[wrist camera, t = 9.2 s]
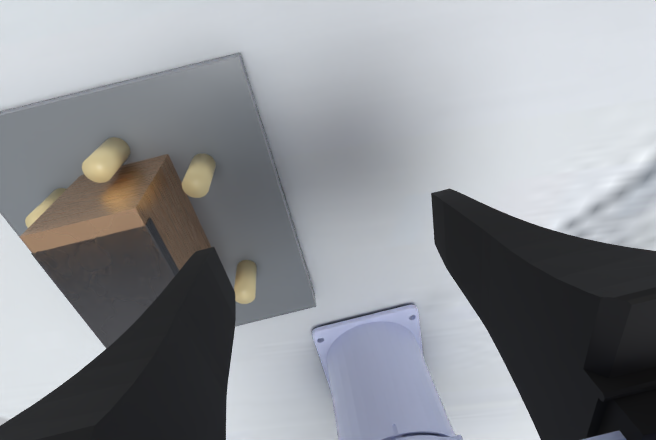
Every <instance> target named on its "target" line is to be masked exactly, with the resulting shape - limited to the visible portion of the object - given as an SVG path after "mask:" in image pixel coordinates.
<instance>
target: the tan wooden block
mask: <svg viewBox="0 0 656 440" xmlns="http://www.w3.org/2000/svg"><path fill="white" fill-rule="evenodd" d="M20 238H21V239H22V241H23V242H24V243H25V244H26V246H27V247H28V248H29V249H30V251H31V252H32V253H31V254H32V255H33V256H34V258H35V259H36V260H37V261H38V263H39V264H40V265H41V266H42V268H43V269H44V270H45V272H46V273H47V274H48V275H49V277H50V278H51V279H52V280H53V282H54V283H55V284H56V285H57V287H58V288H59V289H60V290H61V292H62V293H63V294H64V295H65V297H66V298H67V299H68V301H69V302H70V303H71V304H72V306H73V307H74V308H75V309H76V311H77V312H78V313H79V314H80V316H81V317H82V318H83V319H84V321H85V322H86V323H87V325H88V326H89V327H90V328H91V330H92V331H93V332H94V333H95V335H96V336H97V337H98V338H99V340H100V341H101V342H102V343H103V345H104V346H105V347H106V348H108V347H109V346H110V345H111V344H113V343H114V342H115V341H116V340H117V339H118V338H119V337H120V336H121V335H122V334H123V333H124V332H125V331H126V330H127V329H128V328H129V327H130V326H131V325H132V324H133V323H134V322H135V321H136V320H137V319H138V318H139V317H140V316H141V315H142V314H143V313H144V312H145V311H146V309H147V308H148V307H149V306H150V305H151V304H152V303H153V302H154V301H155V299H156V298H157V297H158V296H159V295H160V294H161V293H162V291H163V290H164V289H165V288H166V287H167V285H168V284H169V283H170V282H171V280H172V279H173V278H174V277H175V276H176V274H177V273H178V272H179V271H180V269H181V268H182V267H183V266H184V264H185V263H186V262H187V261H188V259H189V258H190V257H191V256H192V255H193V254H194V253H195V252H196V251H199V250H203V249H207V248H211V245H210V243H209V241H208V239H207V237H206V234H205V232H204V230H203V228H202V226H201V224H200V222H199V219H198V217H197V215H196V213H195V211H194V209H193V206H192V204H191V202H190V200H189V198H188V196H187V194H186V193H185V192H184V191H183V189H182V183H181V181H180V178H179V176H178V174H177V172H176V170H175V168H174V166H173V163H172V161H171V159H170V157H169V155H168V154H166V155H162V156H158V157H154V158H149V159H145V160H141V161H137V162H133V163H129V164H125V165H121V167H120V168H119V169H118V170H117V172H116V173H115V174H114V175H113V176H112V178H111V179H110V180H109V181H107V182H104V183H97V182H94V181H92V180H90V179H88V178H87V177H86V176H85V174H84V175H80V176H79V177H78V178H77V179H76V180H75V181H74V182H73V183H72V184H71V185H70V186H69V187H68V188H67V189H66V190H65V191H64V192H63V193H62V195H61V196H60V197H59V198H58V199H57V200H56V201H55V202H54V203H53V204H52V205H51V206H50V207H49V208H48V209H47V210H46V211H45V212H44V213H43V214H42V215H41V216H40V217H39V218H38V219H37V220H36V221H35V222H34V223H33V224H32V225H31V226H30V227H29V228H28V229H27V230H26V231H25V232H24V233H23V234H22V235H21V236H20Z"/></svg>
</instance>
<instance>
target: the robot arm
mask: <svg viewBox="0 0 656 440" xmlns="http://www.w3.org/2000/svg"><path fill="white" fill-rule="evenodd" d="M431 195H432V210H433V225H434V240H435V245H436V247H437V250H438V252H439V254H440V256H441V258H442V260H443V262H444V264H445V266H446V268H447V270H448V271H449V273H450V274H451V276H452V277H453V279H454V280H455V282H456V283H457V285H458V286H459V288H460V289H461V291H462V292H463V294H464V295H465V297H466V298H467V300H468V301H469V303H470V304H471V306H472V307H473V309H474V310H475V312H476V313H477V315H478V316H479V317H480V319H481V321H482V322H483V324H484V325H485V327H486V329H487V330H488V332H489V334H490V336H491V338H492V340H493V342H494V343H495V345H496V347H497V349H498V351H499V353H500V355H501V357H502V359H503V361H504V363H505V365H506V367H507V369H508V371H509V373H510V375H511V377H512V379H513V381H514V383H515V385H516V387H517V389H518V391H519V393H520V395H521V397H522V399H523V401H524V404H525V406H526V408H527V410H528V412H529V414H530V416H531V418H532V421H533V423H534V425H535V427H536V429H537V432H538V434H539V436H540V438H541V440H656V251H651V250H644V249H637V248H630V247H624V246H618V245H612V244H607V243H602V242H597V241H593V240H588V239H583V238H579V237H575V236H571V235H567V234H564V233H560V232H557V231H553V230H550V229H547V228H543V227H540V226H537V225H534V224H531V223H529V222H526V221H523V220H521V219H518V218H515V217H513V216H510V215H508V214H505V213H503V212H501V211H498V210H496V209H494V208H491V207H489V206H487V205H485V204H483V203H480V202H478V201H476V200H474V199H472V198H470V197H468V196H465V195H463V194H461V193H459V192H457V191H454V190H452V189H447V190H443V191H439V192H435V193H431ZM411 315H413V316H411ZM235 321H236V302H235V291H234V289H233V287H232V285H231V282H230V280H229V278H228V276H227V274H226V271H225V269H224V267H223V265H222V263H221V261H220V258H219V256H218V254H217V252H216V250H215V248H214V247H211V248H207V249H203V250H199V251H196V252H195V253H194V254H193V255H192V256H191V257H190V258H189V259H188V261H187V262H186V263H185V264H184V266H183V267H182V268H181V269H180V271H179V272H178V273H177V274H176V276H175V277H174V278H173V279H172V280H171V282H170V283H169V284H168V285H167V287H166V288H165V289H164V290H163V291H162V293H161V294H160V295H159V296H158V297H157V298H156V299H155V301H154V302H153V303H152V304H151V305H150V306H149V307H148V308H147V309H146V311H145V312H144V313H143V314H142V315H141V316H140V317H139V318H138V319H137V320H136V321H135V322H134V323H133V324H132V325H131V326H130V327H129V328H128V329H127V330H126V331H125V332H124V333H123V334H122V335H121V336H120V337H119V338H118V339H117V340H116V341H115V342H114V343H113V344H111V345H110V346H109V347H108V348H107V349H106V350H105V351H103V352H102V353H101V354H100V355H99V356H97V357H96V358H95V359H94V360H93V361H91V362H90V363H89V364H88V365H86V366H85V367H84V368H83V369H82V370H80V371H79V372H78V373H77V374H75V375H74V376H73V377H71V378H70V379H69V380H67V381H66V382H65V383H63V384H62V385H61V386H59V387H58V388H57V389H55V390H54V391H52V392H51V393H49V394H48V395H47V396H45V397H44V398H42V399H41V400H39V401H38V402H37V403H35V404H34V405H32V406H31V407H29V408H28V409H26V410H24V411H23V412H21V413H20V414H18V415H17V416H15V417H13V418H12V419H10V420H9V421H7V422H6V423H4V424H3V425H1V426H0V440H226V395H227V384H228V376H229V368H230V361H231V353H232V346H233V338H234V330H235ZM312 337H313V340H314V343H315V346H316V349H317V352H318V355H319V358H320V360H321V363H322V366H323V369H324V372H325V375H326V378H327V381H328V384H329V387H330V390H331V393H332V399H333V406H334V413H335V419H336V426H337V433H338V439H339V440H463V439H462V436H461V435H456V436H455V433H454V431H453V428H452V426H451V424H450V421H449V419H448V416H447V414H446V411H445V409H444V407H443V404H442V402H441V399H440V397H439V394H438V392H437V389H436V387H435V385H434V382H433V380H432V377H431V375H430V372H429V370H428V368H427V365H426V363H425V360H424V358H423V349H422V340H421V331H420V322H419V313H418V309H417V307H416V306H415V305H407V306H403V307H399V308H395V309H391V310H386V311H382V312H378V313H374V314H370V315H366V316H362V317H358V318H354V319H350V320H346V321H342V322H338V323H334V324H330V325H325V326H321V327H317V328H315V329H314V330H313V331H312Z"/></svg>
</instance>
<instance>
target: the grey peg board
mask: <svg viewBox="0 0 656 440" xmlns="http://www.w3.org/2000/svg"><path fill="white" fill-rule="evenodd" d="M166 154H168V155H169V157H170V159H171V161H172V163H173V166H174V168H175V170H176V172H177V174H178V176H179V178H180V181H181V183H182V189H183V191H184V192H185V193H186V194H187V196H188V198H189V200H190V202H191V204H192V206H193V209H194V211H195V213H196V215H197V217H198V219H199V222H200V224H201V226H202V228H203V230H204V232H205V234H206V237H207V239H208V241H209V243H210V245H211V247H214V248H215V250H216V252H217V254H218V256H219V258H220V261H221V263H222V265H223V267H224V269H225V271H226V274H227V276H228V278H229V280H230V282H231V285H232V287H233V289H234V291H235V302H236V321H235V326H239V325H243V324H247V323H251V322H255V321H259V320H263V319H267V318H271V317H275V316H279V315H284V314H288V313H292V312H296V311H300V310H304V309H308V308H312V307H316V301H315V294H314V291H313V288H312V285H311V281H310V278H309V275H308V272H307V268H306V265H305V262H304V259H303V255H302V252H301V249H300V246H299V242H298V239H297V236H296V233H295V229H294V226H293V223H292V220H291V216H290V213H289V210H288V207H287V203H286V200H285V197H284V194H283V190H282V187H281V184H280V181H279V177H278V174H277V171H276V167H275V164H274V161H273V158H272V154H271V151H270V148H269V145H268V141H267V138H266V135H265V132H264V128H263V125H262V122H261V119H260V115H259V112H258V109H257V106H256V102H255V99H254V96H253V93H252V89H251V86H250V83H249V80H248V76H247V73H246V70H245V67H244V63H243V60H242V57H241V54H240V53H237V54H233V55H229V56H225V57H221V58H217V59H213V60H209V61H205V62H201V63H197V64H192V65H188V66H184V67H180V68H176V69H172V70H168V71H164V72H160V73H156V74H152V75H148V76H144V77H140V78H136V79H131V80H127V81H123V82H119V83H115V84H111V85H107V86H103V87H99V88H95V89H91V90H87V91H83V92H79V93H74V94H70V95H66V96H62V97H58V98H54V99H50V100H46V101H42V102H38V103H34V104H30V105H26V106H22V107H18V108H13V109H9V110H5V111H1V112H0V213H1V214H2V216H3V217H4V218H5V219H6V221H7V222H8V223H9V224H10V226H11V227H12V228H13V230H14V231H15V232H16V233H17V235H18V236H19V237H20V236H21V235H22V234H23V233H24V232H25V231H26V230H27V229H28V228H29V227H30V226H31V225H32V224H33V223H34V222H35V221H36V220H37V219H38V218H39V217H40V216H41V215H42V214H43V213H44V212H45V211H46V210H47V209H48V208H49V207H50V206H51V205H52V204H53V203H54V202H55V201H56V200H57V199H58V198H59V197H60V196H61V195H62V193H63V192H64V191H65V190H66V189H67V188H68V187H69V186H70V185H71V184H72V183H73V182H74V181H75V180H76V179H77V178H78V177H79V176H80V175H84V174H85V176H86V177H87V178H88V179H90V180H92V181H94V182H97V183H104V182H107V181H109V180H110V179H111V178H112V176H113V175H114V174H115V173H116V172H117V170H118V169H119V168H120V167H121V165H125V164H129V163H133V162H137V161H141V160H145V159H149V158H154V157H158V156H162V155H166ZM21 240H22V239H21ZM25 245H26V244H25ZM29 250H30V249H29Z"/></svg>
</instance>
